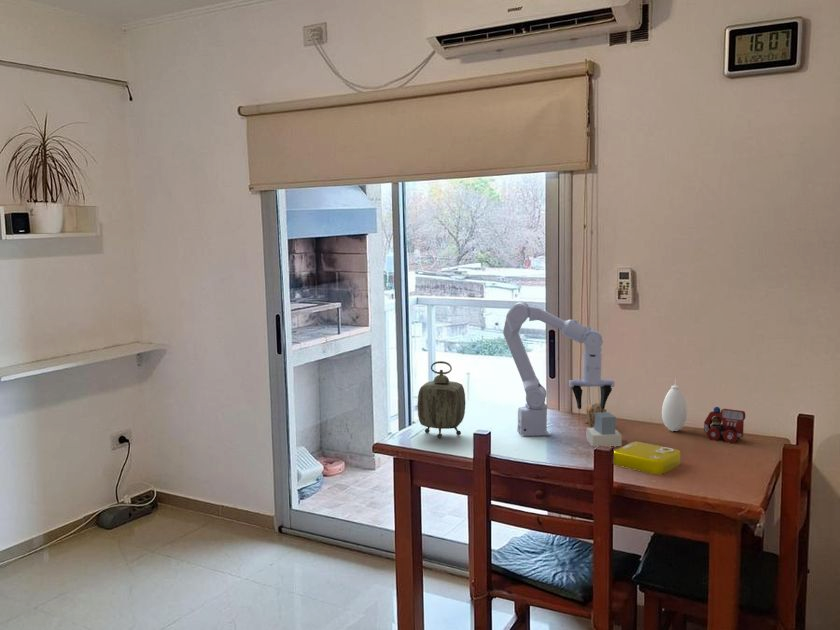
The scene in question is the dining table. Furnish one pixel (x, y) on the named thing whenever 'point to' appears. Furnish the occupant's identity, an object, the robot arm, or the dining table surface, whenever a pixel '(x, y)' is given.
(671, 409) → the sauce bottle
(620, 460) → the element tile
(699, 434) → the dining table surface
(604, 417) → the grey block
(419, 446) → the dining table surface
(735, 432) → the toy fire truck
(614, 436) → the base block
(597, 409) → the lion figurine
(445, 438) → the dining table surface
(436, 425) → the tabletop clock
